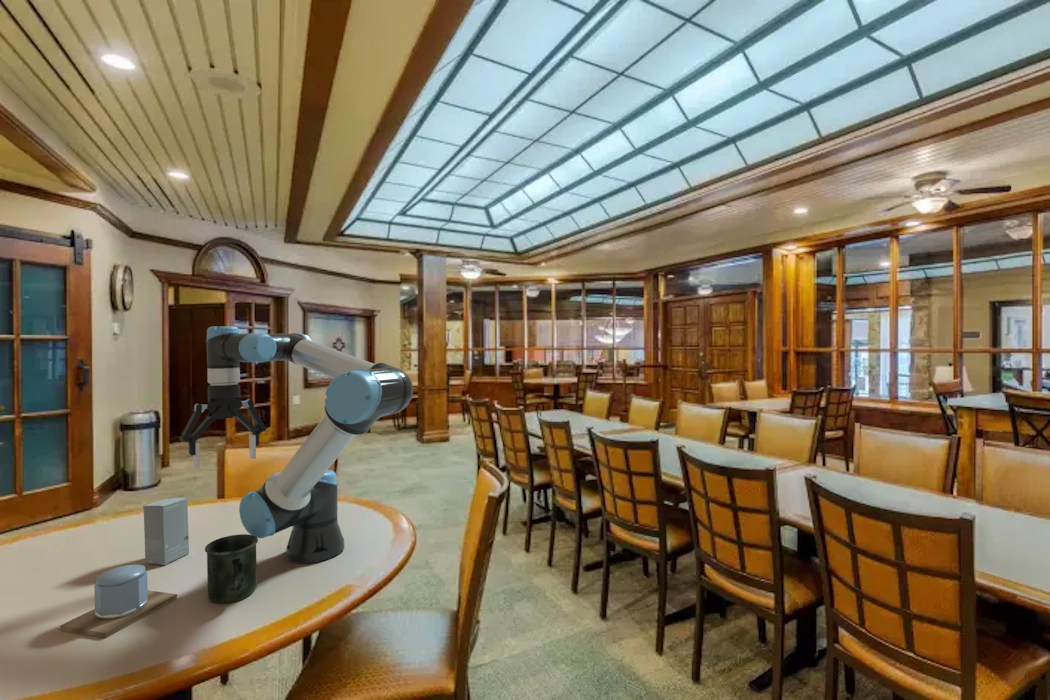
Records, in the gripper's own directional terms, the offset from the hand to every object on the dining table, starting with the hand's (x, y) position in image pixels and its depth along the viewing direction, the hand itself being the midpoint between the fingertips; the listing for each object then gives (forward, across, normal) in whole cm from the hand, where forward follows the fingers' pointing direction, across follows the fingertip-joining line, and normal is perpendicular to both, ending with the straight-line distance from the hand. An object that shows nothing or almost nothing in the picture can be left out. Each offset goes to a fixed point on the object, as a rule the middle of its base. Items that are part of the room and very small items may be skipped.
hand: (225, 462), depth 138 cm
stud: (+27, +25, +12) cm, 38 cm away
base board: (+27, +25, +12) cm, 38 cm away
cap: (+25, +25, +13) cm, 37 cm away
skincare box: (+27, +11, -14) cm, 32 cm away
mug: (+27, +6, +22) cm, 35 cm away
